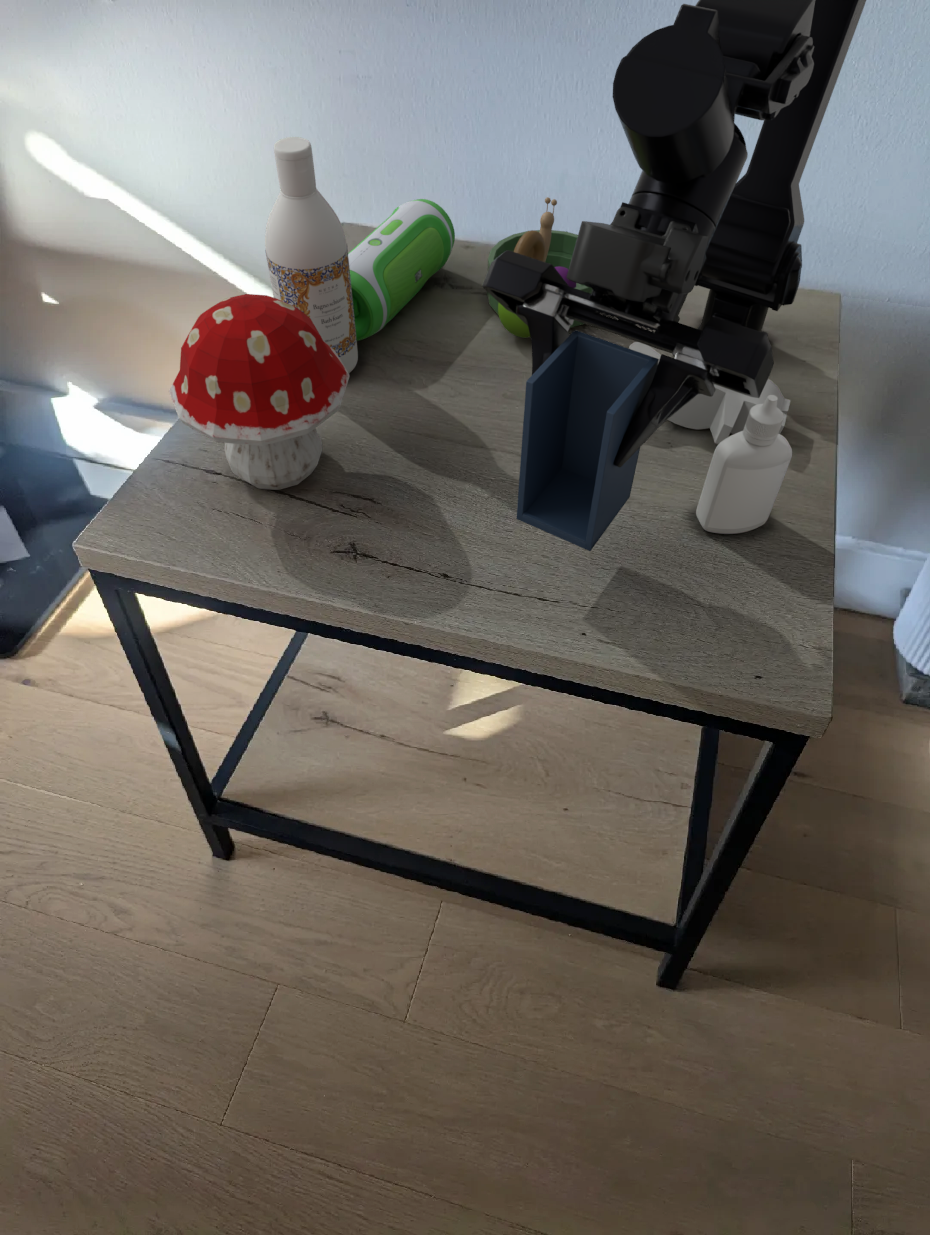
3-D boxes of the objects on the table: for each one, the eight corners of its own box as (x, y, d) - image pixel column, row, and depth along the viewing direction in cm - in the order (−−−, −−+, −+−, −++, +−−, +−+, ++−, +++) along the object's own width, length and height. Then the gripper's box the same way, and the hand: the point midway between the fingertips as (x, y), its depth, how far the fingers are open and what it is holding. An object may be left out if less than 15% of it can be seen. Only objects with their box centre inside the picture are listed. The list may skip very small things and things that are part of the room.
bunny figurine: (787, 431, 71) (614, 372, 73) (762, 476, 75) (599, 419, 77) (802, 367, 77) (641, 314, 78) (779, 412, 81) (626, 361, 83)
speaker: (379, 356, 84) (374, 284, 78) (315, 336, 86) (305, 265, 80) (459, 270, 94) (459, 201, 88) (400, 255, 96) (396, 186, 90)
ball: (571, 254, 87) (536, 263, 87) (581, 282, 86) (546, 292, 86) (570, 279, 90) (536, 288, 90) (579, 306, 89) (546, 315, 89)
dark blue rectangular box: (558, 467, 66) (574, 329, 57) (630, 497, 64) (659, 358, 55) (516, 519, 63) (525, 381, 53) (590, 551, 61) (614, 414, 51)
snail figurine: (565, 323, 87) (579, 205, 78) (534, 355, 84) (544, 235, 75) (519, 307, 89) (526, 189, 80) (486, 337, 86) (490, 218, 76)
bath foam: (306, 394, 80) (270, 172, 65) (273, 357, 84) (232, 138, 68) (371, 370, 83) (352, 150, 67) (337, 334, 86) (311, 118, 71)
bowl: (519, 259, 96) (521, 219, 92) (622, 288, 92) (628, 248, 88) (466, 313, 89) (466, 272, 85) (575, 347, 85) (580, 305, 82)
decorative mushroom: (247, 399, 80) (211, 242, 68) (385, 435, 76) (373, 277, 65) (161, 496, 71) (104, 337, 60) (312, 542, 68) (283, 382, 57)
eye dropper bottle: (762, 546, 68) (810, 425, 59) (691, 529, 69) (727, 407, 60) (768, 510, 71) (815, 388, 62) (700, 494, 72) (736, 372, 63)
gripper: (502, 116, 50) (403, 374, 53) (819, 199, 44) (688, 486, 47) (555, 197, 60) (470, 410, 63) (817, 274, 54) (710, 506, 57)
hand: (573, 448), depth 57 cm, fingers closed on dark blue rectangular box, 6 cm apart
